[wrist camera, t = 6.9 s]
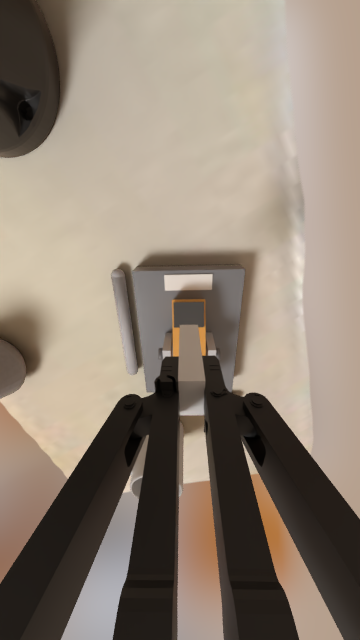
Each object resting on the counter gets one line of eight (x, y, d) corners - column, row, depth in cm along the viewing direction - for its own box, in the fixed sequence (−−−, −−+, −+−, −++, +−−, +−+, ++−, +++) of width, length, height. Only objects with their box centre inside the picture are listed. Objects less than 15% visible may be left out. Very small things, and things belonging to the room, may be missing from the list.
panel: (136, 266, 29) (122, 280, 22) (239, 264, 28) (256, 278, 21) (149, 379, 37) (141, 415, 30) (228, 379, 37) (238, 415, 30)
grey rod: (112, 267, 29) (108, 270, 27) (125, 267, 29) (121, 270, 27) (129, 370, 36) (126, 377, 35) (139, 370, 36) (137, 377, 35)
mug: (189, 419, 41) (191, 481, 32) (175, 444, 45) (173, 508, 35) (130, 403, 40) (113, 464, 30) (121, 431, 43) (102, 494, 34)
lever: (173, 299, 27) (171, 299, 25) (203, 299, 27) (205, 299, 24) (175, 400, 29) (174, 412, 26) (204, 400, 29) (206, 412, 26)
